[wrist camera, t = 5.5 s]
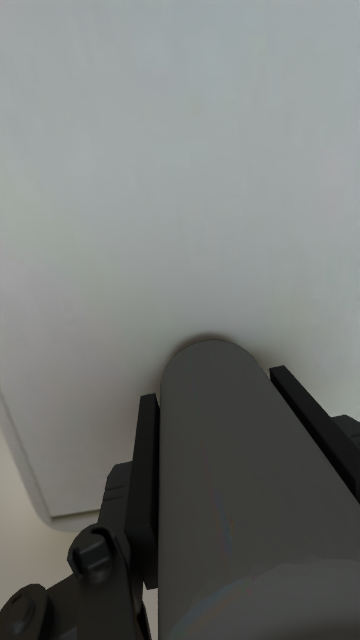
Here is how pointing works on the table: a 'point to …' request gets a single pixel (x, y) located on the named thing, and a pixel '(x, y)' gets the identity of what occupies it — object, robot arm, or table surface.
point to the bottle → (248, 511)
